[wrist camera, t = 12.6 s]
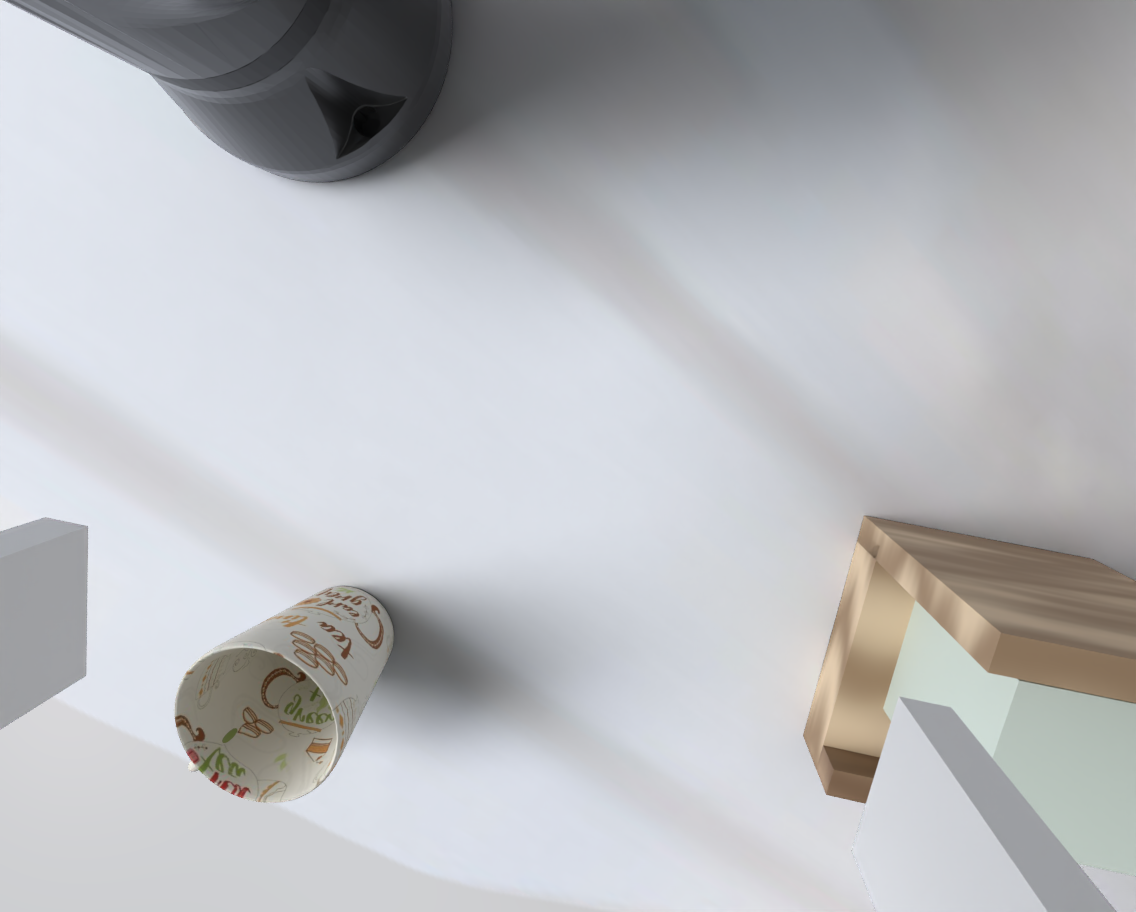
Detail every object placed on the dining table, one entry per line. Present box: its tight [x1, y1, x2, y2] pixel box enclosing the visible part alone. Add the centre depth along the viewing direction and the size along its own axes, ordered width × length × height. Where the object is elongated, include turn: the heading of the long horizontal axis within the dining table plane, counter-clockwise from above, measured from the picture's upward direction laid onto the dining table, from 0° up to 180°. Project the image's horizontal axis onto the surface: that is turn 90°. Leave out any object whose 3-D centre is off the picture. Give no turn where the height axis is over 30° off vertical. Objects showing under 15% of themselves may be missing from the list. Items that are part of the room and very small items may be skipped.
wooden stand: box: [803, 516, 1136, 803], centre depth 30 cm, size 14×12×14 cm
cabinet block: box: [883, 600, 1136, 876], centre depth 29 cm, size 8×7×9 cm
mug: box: [175, 586, 394, 803], centre depth 36 cm, size 8×13×10 cm, turn 132°
